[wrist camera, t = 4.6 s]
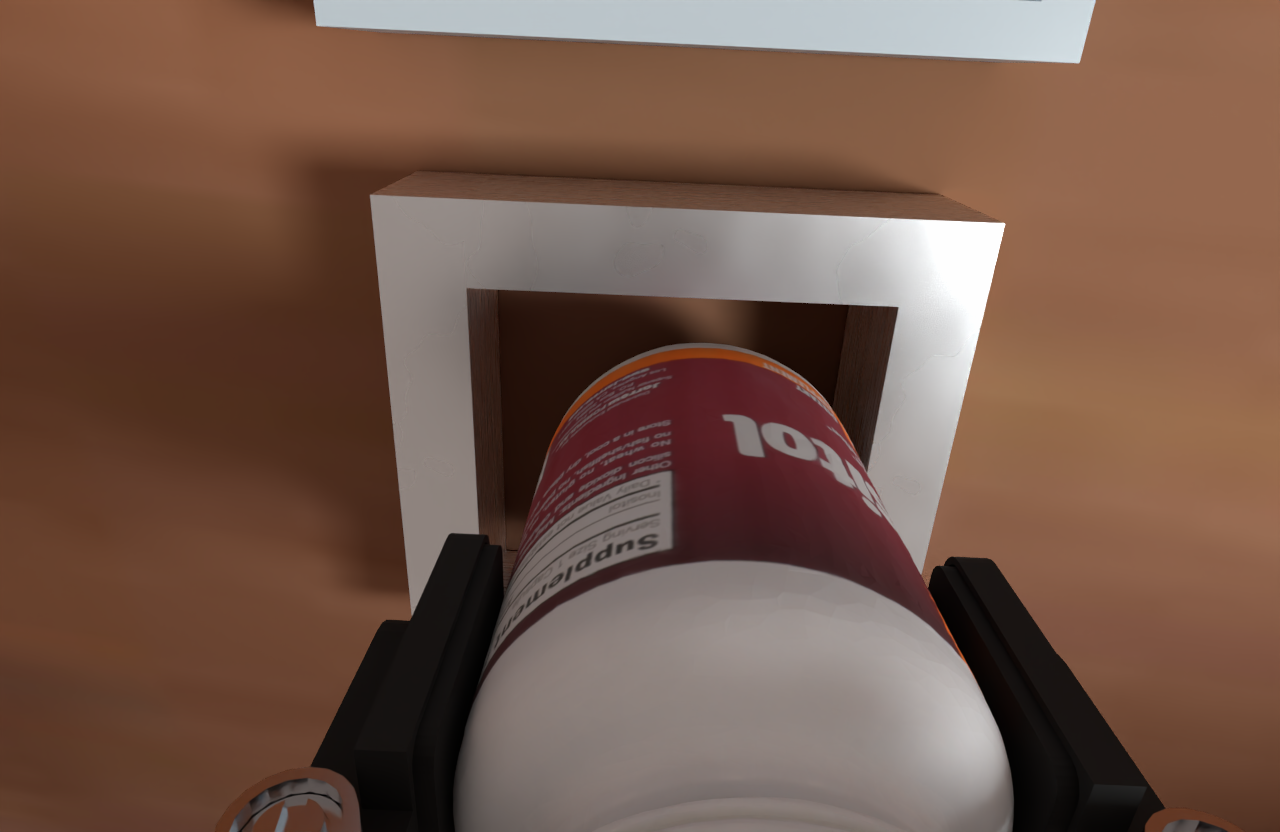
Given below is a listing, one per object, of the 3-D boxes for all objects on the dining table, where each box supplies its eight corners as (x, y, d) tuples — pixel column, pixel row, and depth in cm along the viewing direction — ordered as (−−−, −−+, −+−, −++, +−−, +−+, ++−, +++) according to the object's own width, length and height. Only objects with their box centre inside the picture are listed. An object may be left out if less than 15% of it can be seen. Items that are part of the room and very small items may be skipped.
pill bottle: (907, 495, 16) (1327, 1219, 6) (672, 642, 18) (691, 1397, 8) (726, 263, 14) (900, 756, 4) (483, 452, 16) (179, 1128, 6)
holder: (857, 612, 20) (891, 699, 17) (449, 597, 20) (418, 683, 17) (941, 195, 16) (1005, 223, 13) (418, 170, 15) (370, 194, 13)
